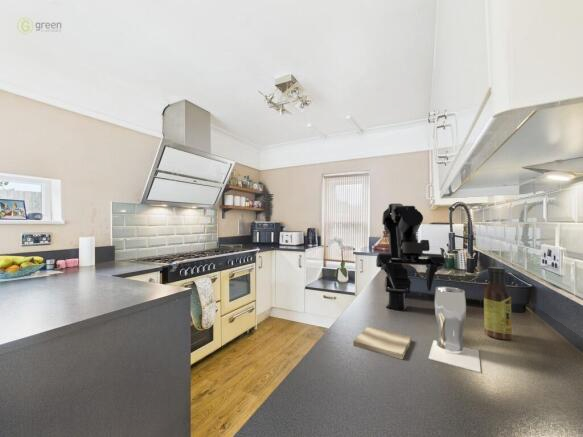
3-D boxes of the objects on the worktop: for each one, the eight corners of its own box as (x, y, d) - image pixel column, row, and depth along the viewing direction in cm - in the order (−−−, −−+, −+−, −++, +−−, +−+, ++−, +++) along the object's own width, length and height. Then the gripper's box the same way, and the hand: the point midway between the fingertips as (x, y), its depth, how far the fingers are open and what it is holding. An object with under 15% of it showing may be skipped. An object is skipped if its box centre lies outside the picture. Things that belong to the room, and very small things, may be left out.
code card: (433, 340, 70) (433, 340, 70) (478, 351, 65) (478, 350, 65) (428, 359, 61) (428, 358, 61) (480, 373, 55) (480, 372, 55)
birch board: (367, 330, 77) (367, 326, 77) (411, 341, 70) (411, 336, 70) (353, 345, 67) (353, 340, 67) (402, 359, 60) (402, 354, 60)
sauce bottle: (512, 343, 70) (511, 270, 71) (484, 336, 74) (483, 267, 74) (510, 335, 75) (509, 267, 76) (484, 329, 79) (483, 265, 80)
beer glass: (437, 339, 71) (437, 285, 71) (467, 347, 66) (467, 289, 67) (432, 348, 65) (431, 289, 66) (464, 358, 61) (464, 294, 61)
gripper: (378, 228, 77) (380, 279, 69) (447, 229, 72) (457, 284, 65) (375, 243, 86) (377, 290, 79) (436, 245, 82) (444, 294, 74)
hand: (411, 289), depth 74 cm, fingers open, 9 cm apart
